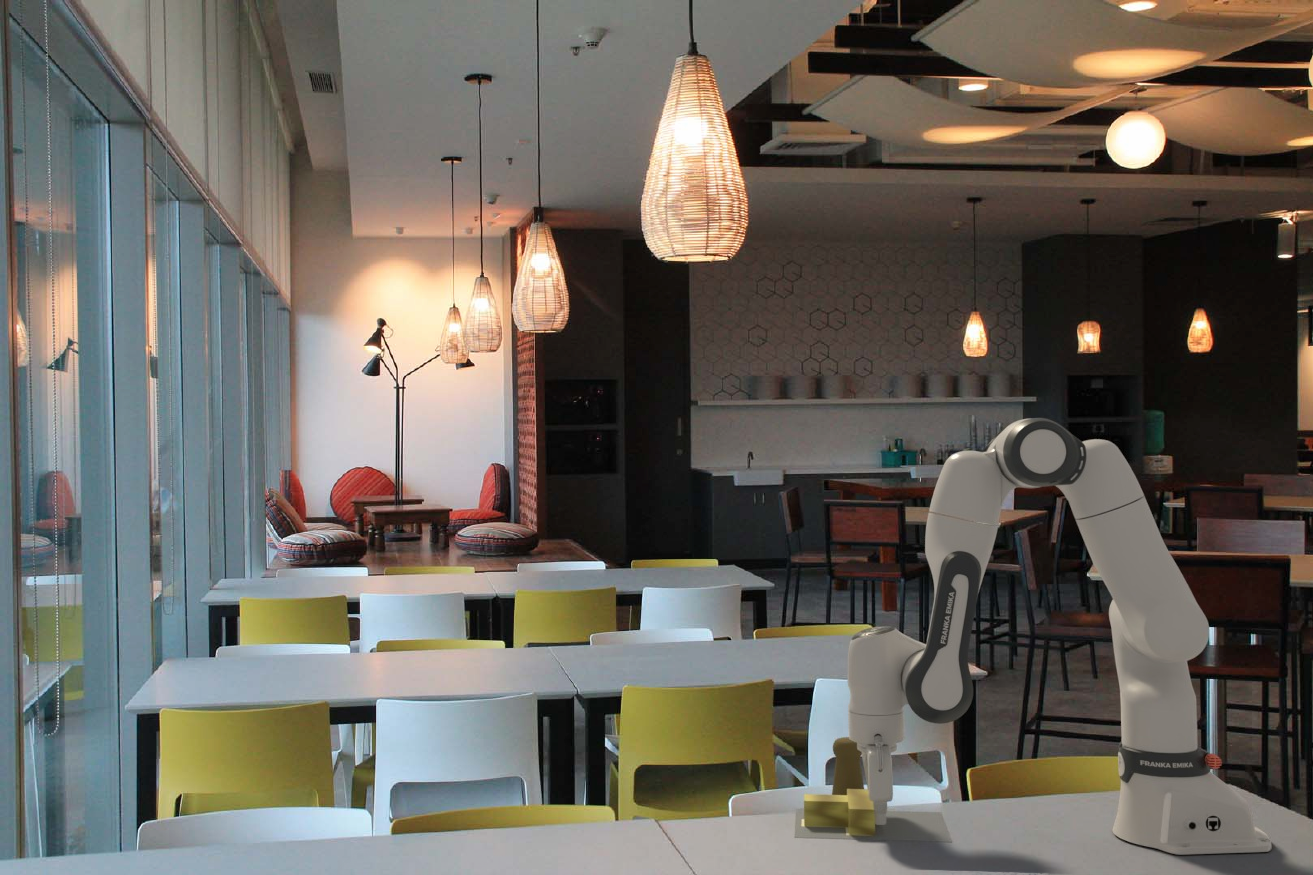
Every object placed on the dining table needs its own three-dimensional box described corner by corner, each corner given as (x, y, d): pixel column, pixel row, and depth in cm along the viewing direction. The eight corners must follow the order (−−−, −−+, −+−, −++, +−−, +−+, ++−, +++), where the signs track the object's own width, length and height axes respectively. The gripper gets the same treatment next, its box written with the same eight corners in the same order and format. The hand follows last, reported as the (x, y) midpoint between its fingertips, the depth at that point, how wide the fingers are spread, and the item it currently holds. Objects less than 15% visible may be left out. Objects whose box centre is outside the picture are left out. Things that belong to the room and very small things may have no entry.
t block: (871, 813, 199) (871, 789, 199) (875, 835, 187) (874, 809, 187) (804, 811, 201) (804, 787, 201) (804, 833, 189) (803, 807, 189)
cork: (864, 796, 213) (863, 734, 213) (867, 806, 207) (866, 742, 207) (830, 796, 214) (829, 734, 214) (831, 805, 208) (830, 741, 208)
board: (941, 818, 199) (941, 812, 199) (952, 848, 184) (952, 841, 184) (796, 814, 203) (796, 808, 203) (794, 843, 187) (794, 837, 187)
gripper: (900, 743, 183) (903, 834, 182) (892, 715, 203) (894, 798, 202) (858, 742, 183) (861, 833, 183) (854, 715, 204) (856, 797, 203)
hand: (878, 814), depth 193 cm, fingers open, 8 cm apart
